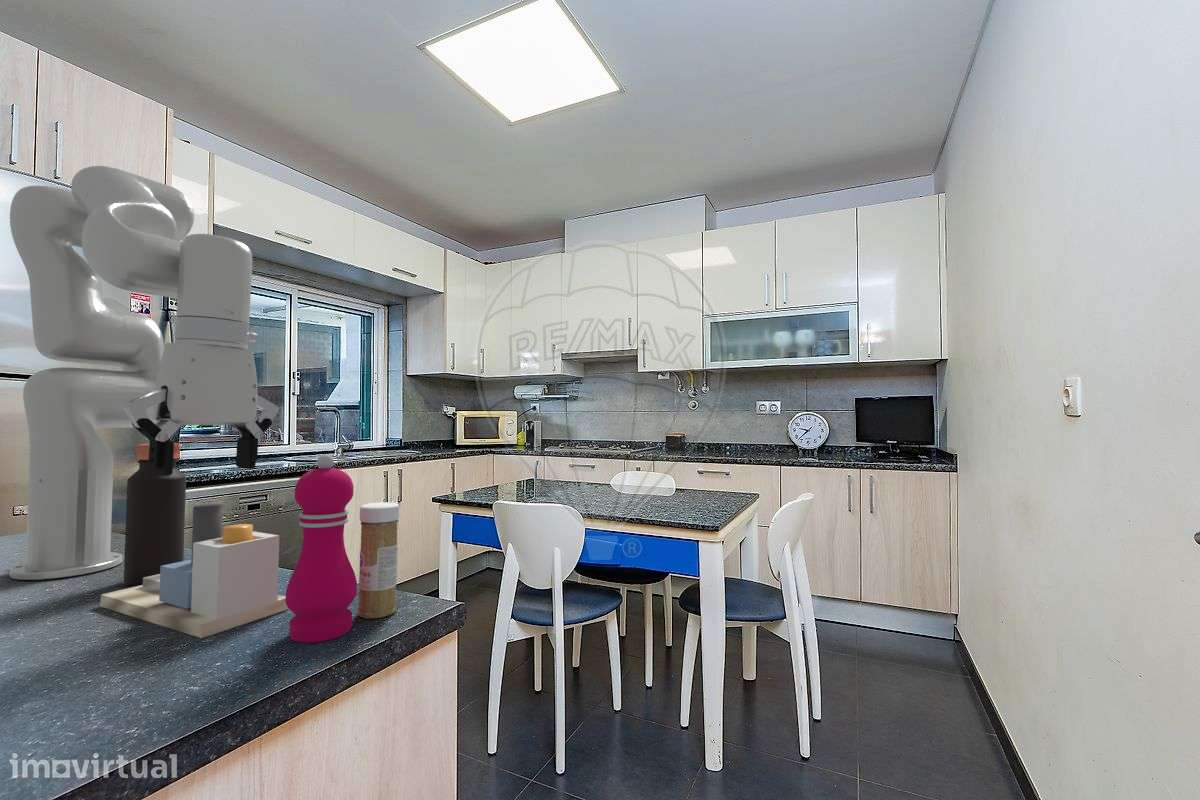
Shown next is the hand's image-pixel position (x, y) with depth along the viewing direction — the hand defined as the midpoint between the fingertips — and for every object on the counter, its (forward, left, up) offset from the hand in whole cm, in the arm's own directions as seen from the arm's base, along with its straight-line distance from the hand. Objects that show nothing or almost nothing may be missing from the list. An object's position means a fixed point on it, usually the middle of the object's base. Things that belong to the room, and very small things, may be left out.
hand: (206, 471), depth 68 cm
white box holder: (+7, 0, -16) cm, 17 cm away
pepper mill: (+19, +2, -18) cm, 26 cm away
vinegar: (-20, +4, -18) cm, 27 cm away
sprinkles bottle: (+20, +9, -18) cm, 28 cm away
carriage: (+1, 0, -16) cm, 16 cm away
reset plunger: (+7, 0, -10) cm, 12 cm away
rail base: (-2, 0, -17) cm, 17 cm away
